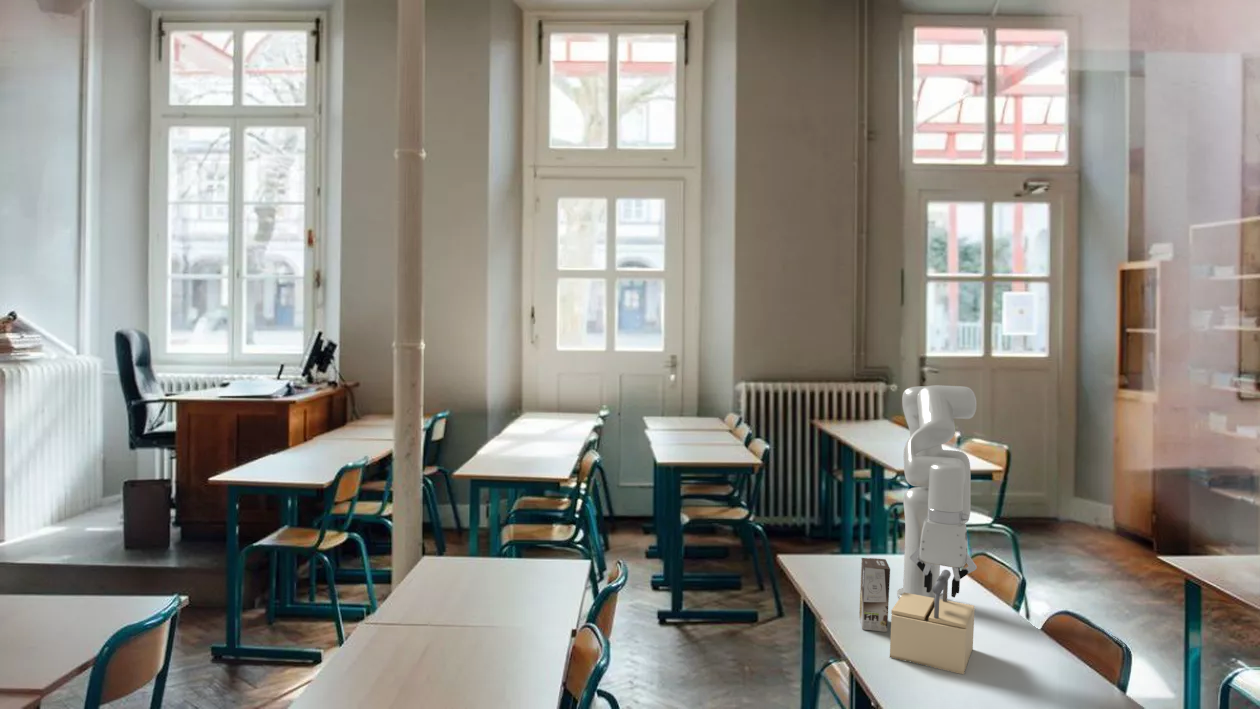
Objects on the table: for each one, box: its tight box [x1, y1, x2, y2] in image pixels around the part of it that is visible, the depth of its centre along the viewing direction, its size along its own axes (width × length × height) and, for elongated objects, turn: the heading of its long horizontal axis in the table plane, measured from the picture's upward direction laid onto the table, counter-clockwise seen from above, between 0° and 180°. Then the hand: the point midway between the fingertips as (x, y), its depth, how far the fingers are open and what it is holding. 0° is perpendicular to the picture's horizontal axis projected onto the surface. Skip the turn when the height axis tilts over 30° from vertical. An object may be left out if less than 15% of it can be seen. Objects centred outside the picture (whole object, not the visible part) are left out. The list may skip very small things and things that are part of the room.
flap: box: [929, 569, 975, 629], centre depth 184 cm, size 8×14×8 cm, turn 150°
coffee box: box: [858, 557, 891, 633], centre depth 204 cm, size 9×6×16 cm
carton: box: [889, 592, 976, 675], centre depth 187 cm, size 16×16×11 cm
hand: (941, 592), depth 185 cm, fingers open, 4 cm apart
